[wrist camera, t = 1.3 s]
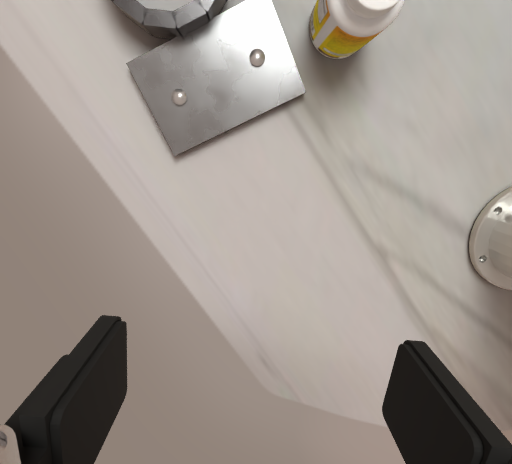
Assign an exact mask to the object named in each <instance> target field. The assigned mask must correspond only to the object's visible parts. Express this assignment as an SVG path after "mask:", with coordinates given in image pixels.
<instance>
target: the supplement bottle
mask: <svg viewBox="0 0 512 464" xmlns="http://www.w3.org/2000/svg"><path fill="white" fill-rule="evenodd" d="M404 1H405V0H317V2H316V4H315V6H314V8H313V11H312V13H311V17H310V22H309V32H310V37H311V40H312V42H313V44H314V46H315V47H316V49H317V50H318V51H319V52H320V53H321V54H323V55H324V56H326V57H329V58H333V59H342V58H346V57H348V56H350V55H352V54H354V53H355V52H357V51H358V50H359V49H360V48H362V47H363V46H364V45H365V44H367V43H368V42H369V41H371V40H372V39H373V38H374V37H376V36H377V35H378V34H379V33H381V32H382V31H383V30H384V29H386V28H387V27H388V26H389V25H390V24H391V23H392V22H393V21H394V20H395V18H396V17H397V16H398V14H399V12H400V11H401V8H402V6H403V4H404Z"/></svg>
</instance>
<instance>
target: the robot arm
mask: <svg viewBox="0 0 512 464" xmlns="http://www.w3.org/2000/svg"><path fill="white" fill-rule="evenodd" d="M469 253H470V258H471V262H472V264H473V266H474V268H475V270H476V271H477V272H478V273H479V275H480V276H481V277H483V278H484V279H485V280H486V281H488V282H490V283H491V284H493V285H495V286H497V287H500V288H503V289H506V290H512V187H510V188H508V189H506V190H505V191H503V192H501V193H500V194H498V195H497V196H496V197H495V198H494V199H493V200H491V201H490V202H489V203H488V204H487V206H486V207H485V208H484V209H483V210H482V211H481V213H480V215H479V216H478V218H477V220H476V221H475V224H474V226H473V229H472V231H471V235H470V240H469ZM126 392H127V331H126V322H123V321H121V318H120V317H118V316H117V317H116V316H106V315H102V316H101V317H100V318H99V319H98V320H97V321H96V322H95V324H94V325H93V326H92V327H91V329H90V330H89V331H88V332H87V333H86V335H85V336H84V337H83V338H82V339H81V341H80V342H79V343H78V344H77V345H76V347H75V348H74V349H73V350H72V352H71V353H70V354H69V355H64V356H63V357H62V358H60V359H59V361H58V362H57V363H56V364H55V365H54V366H53V368H52V369H51V370H50V372H48V374H47V375H46V376H45V377H44V378H43V379H42V381H41V382H40V383H39V384H38V385H37V386H36V388H35V389H34V390H33V391H32V392H31V394H30V395H29V396H28V397H27V398H26V399H25V401H24V402H23V403H22V404H21V405H20V407H19V408H18V409H17V410H16V411H15V412H14V414H13V415H12V416H11V417H10V418H9V420H8V421H7V422H6V423H5V424H4V425H1V424H0V464H94V462H95V460H96V458H97V456H98V454H99V452H100V450H101V447H102V445H103V443H104V441H105V439H106V437H107V435H108V433H109V431H110V428H111V426H112V424H113V422H114V420H115V418H116V416H117V414H118V412H119V409H120V407H121V405H122V403H123V401H124V399H125V396H126ZM382 412H383V416H384V419H385V421H386V423H387V425H388V427H389V429H390V431H391V433H392V436H393V438H394V440H395V442H396V444H397V446H398V448H399V450H400V453H401V455H402V457H403V459H404V461H405V463H406V464H512V445H511V443H510V442H509V441H508V440H507V438H506V437H505V436H504V435H503V434H502V433H501V431H500V430H499V429H498V428H497V427H496V425H495V424H494V423H493V422H492V421H491V420H490V418H489V417H488V416H487V415H486V414H485V413H484V411H483V410H482V409H481V408H480V407H479V405H478V404H477V403H476V402H475V401H474V400H473V398H472V397H471V396H470V395H469V394H468V392H467V391H466V390H465V389H464V388H463V387H462V385H461V384H460V383H459V382H458V381H457V380H456V378H455V377H454V376H453V375H452V374H451V372H450V371H449V370H448V369H447V368H446V367H445V365H444V364H443V363H442V362H441V361H440V359H439V358H438V357H437V356H436V355H435V354H434V352H433V351H432V350H431V349H430V348H429V347H428V345H427V344H426V343H425V342H422V341H411V340H406V341H405V342H404V343H403V344H400V345H399V347H398V350H397V354H396V358H395V362H394V365H393V369H392V373H391V376H390V380H389V384H388V387H387V391H386V395H385V398H384V402H383V406H382Z"/></svg>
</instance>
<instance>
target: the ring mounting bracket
mask: <svg viewBox="0 0 512 464" xmlns="http://www.w3.org/2000/svg"><path fill="white" fill-rule="evenodd" d="M111 1H112V2H113V3H114V4H115V5H116V6H117V7H118V8H119V9H120V10H121V11H122V12H123V13H124V14H125V15H126V16H127V17H128V18H130V19H131V20H132V21H134V22H135V23H136V24H137V25H139V26H140V27H141V28H143V29H144V30H145V31H147V32H148V33H149V34H151V35H152V36H155V37H157V38H166V39H172V40H170V41H168V42H166V43H164V44H162V45H160V46H158V47H156V48H154V49H153V50H151V51H149V52H147V53H145V54H143V55H141V56H139V57H137V58H135V59H133V60H132V61H130V62H128V63H126V64H127V66H128V68H129V69H130V71H131V73H132V75H133V77H134V79H135V81H136V83H137V85H138V87H139V89H140V91H141V93H142V94H143V96H144V98H145V100H146V102H147V104H148V106H149V108H150V110H151V112H152V114H153V116H154V118H155V119H156V121H157V123H158V125H159V127H160V129H161V131H162V133H163V135H164V137H165V139H166V141H167V142H168V144H169V146H170V148H171V150H172V152H173V154H174V156H176V155H178V154H180V153H182V152H184V151H186V150H189V149H191V148H193V147H195V146H197V145H199V144H201V143H203V142H205V141H207V140H209V139H211V138H213V137H215V136H217V135H219V134H222V133H224V132H226V131H228V130H230V129H232V128H234V127H236V126H238V125H240V124H242V123H244V122H246V121H248V120H250V119H253V118H255V117H257V116H259V115H261V114H263V113H265V112H267V111H269V110H271V109H273V108H275V107H277V106H279V105H281V104H283V103H286V102H288V101H290V100H292V99H294V98H296V97H298V96H300V95H302V94H304V93H305V92H306V90H305V88H304V85H303V83H302V80H301V77H300V75H299V72H298V69H297V67H296V64H295V61H294V59H293V56H292V54H291V51H290V48H289V46H288V43H287V40H286V38H285V35H284V32H283V30H282V27H281V25H280V22H279V19H278V17H277V14H276V11H275V9H274V6H273V3H272V1H271V0H246V1H244V2H242V3H240V4H238V5H236V6H234V7H233V8H231V9H229V10H227V11H225V12H223V13H221V14H219V13H220V12H221V10H222V8H223V6H224V5H225V3H226V1H227V0H194V1H192V2H190V3H188V4H186V5H184V6H182V7H180V8H179V9H177V10H175V11H165V10H157V9H148V8H145V7H144V6H143V5H141V4H140V3H139V2H138V1H136V0H111Z"/></svg>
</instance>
